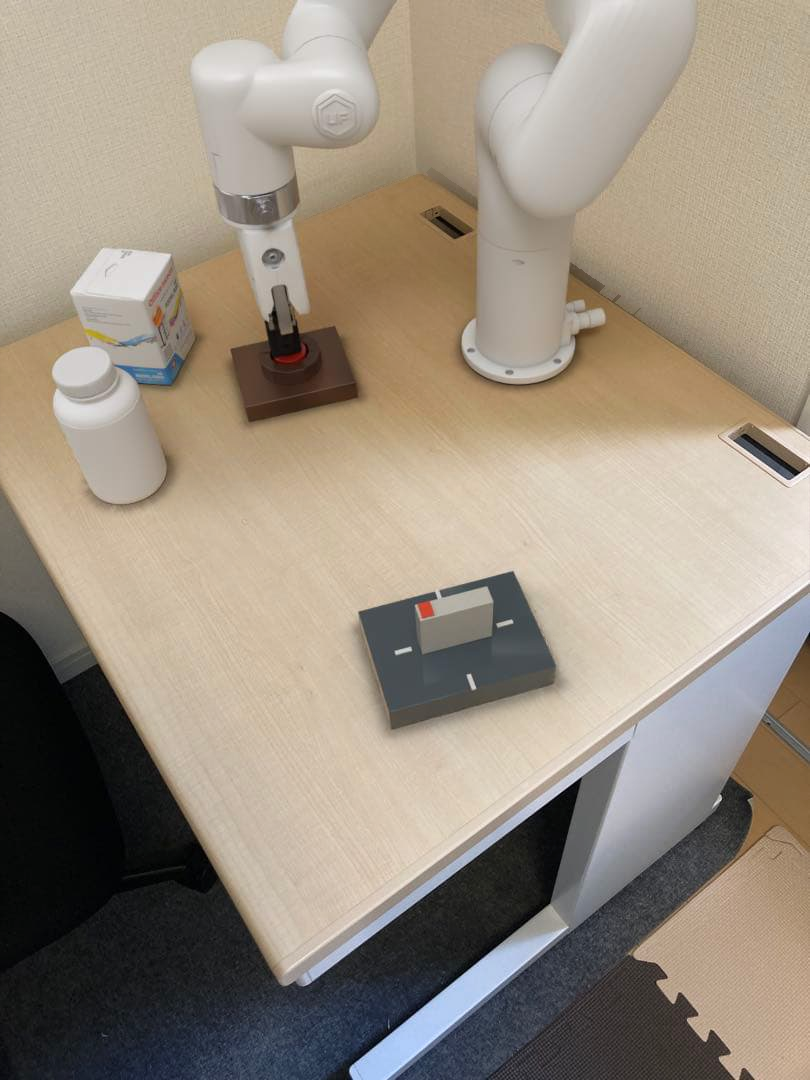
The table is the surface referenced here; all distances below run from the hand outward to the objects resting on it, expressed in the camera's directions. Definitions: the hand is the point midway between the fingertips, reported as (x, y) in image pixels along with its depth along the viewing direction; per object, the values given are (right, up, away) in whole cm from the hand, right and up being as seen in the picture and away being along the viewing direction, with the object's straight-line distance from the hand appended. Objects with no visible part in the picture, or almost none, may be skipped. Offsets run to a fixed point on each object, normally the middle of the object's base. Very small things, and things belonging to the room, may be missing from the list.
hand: (286, 350), depth 97 cm
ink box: (-16, 0, +7) cm, 18 cm away
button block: (0, -3, +3) cm, 4 cm away
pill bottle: (-15, -14, -5) cm, 21 cm away
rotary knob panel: (+17, -30, -20) cm, 40 cm away
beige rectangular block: (+17, -28, -22) cm, 40 cm away
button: (0, -1, +1) cm, 2 cm away
